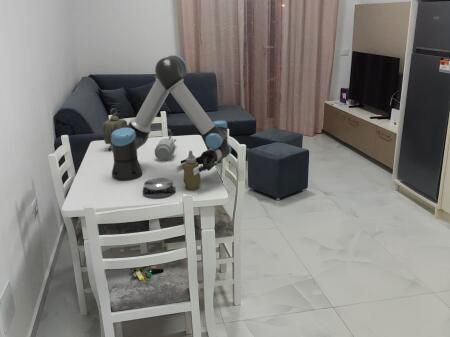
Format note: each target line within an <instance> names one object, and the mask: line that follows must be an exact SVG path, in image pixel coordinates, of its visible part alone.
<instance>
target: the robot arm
mask: <svg viewBox="0 0 450 337" xmlns="http://www.w3.org/2000/svg"><path fill="white" fill-rule="evenodd" d="M154 68H155V70H154V71H155V72H154V73H155V75H154V77H155V81H154V83H153V84H152V87H151V89H150V90H149V92H148V94H147V96H146V98H145V100H144V101H143V103H142V105H141V107H140V109H139V111H138V112H137V114H136V116H135V118H132V119H130V120H129V122H128V123H127V125H128V126H127V128H120V129H117V130H115V131H114V132H113V133H112V135H111V141H112V146H111V149H112V154H113V165H112V166H113V167H112V170H111V177H112V179H114V180H116V181H129V180H135V179H138V178H141V176H143V169H142V167H141V164H140V162H139V160H138V149H139V148H140V147H142V146H144V145H145V144H146V143H147V141H148V140H149V135H150V134H151V131H152V129H151V125H152V124H153V122H154V120H155V118H156V117H157V115H158V113H159V112H160V109H162V106H163V104H164V103H165V100H166V99H167V97H168V95H169V94H171V95H172V97H173V98H174V100H175V101H176V102H177V103H178V105H179V106H180V107H181V109H182V110H183V111H184V112H185V114H186V116H188V117H189V119H190V121H191V122H192V123H193V124H194V126H195V128H197V130H198V131H199V132H200V134H201V135H202V137H203V138H204V139H205V141H204V142H205V145H206V147H207V148H208V149H207V150H205V151H203V152H202V153H201V155H200V156H197V157H196V156H195V155H193V157H195V158H196V162H197V163H198V165H199V166H198V167H196V168H194V169H193V172H194V175H196V174H198V173H199V172H200V173H201V172H203V171H208V172H209V171H211V170H212V169H213V168H214V167H215V166H217V165H218V162H219V161H222V160H223V159H226V157H228V156H229V155H230V154H231V153H232V147H231V144H230V143H228V123H227V121H226V120H215V121H212V120H211V118H210V117H209V116H208V114H207V113H206V111H205V110H204V109H203V108H202V106H201V104H200V103H199V102H198V100H197V99H196V98H195V97H194V95H193V94H192V92H191V91H190V90H189V88H188V87H187V86H186V84H185V83H184V76H186V73H187V69H188V68H187V63H186V62H185V60H184V59H183V58H182V57H181V56H179V55H172V54H171V55H168V56H166V57H163V58H161V59H159V60H158V61H157V62H156V64H155V67H154ZM185 163H186V158H185V159H183V160H180V164H179V165H177V166H176V172H177V173H180V172H182V171H184V164H185Z"/></svg>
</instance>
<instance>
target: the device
mask: <svg viewBox="0 0 450 337" xmlns="http://www.w3.org/2000/svg"><path fill="white" fill-rule="evenodd" d="M176 141H177V138H172V135H171V134H169V137H168V138H162V139H161V140H159V142H158V143H157V144H156V147H155V148H154V155H155V157H156V158H157V160H160V161H161V162H165V161H166V162H167V161H168V160H170V159H171V158H172V157H173V155H174V153H175V150H176V144H175V142H176Z"/></svg>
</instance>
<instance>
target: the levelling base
mask: <svg viewBox="0 0 450 337" xmlns="http://www.w3.org/2000/svg"><path fill="white" fill-rule="evenodd" d="M174 194H176V187H175V186H174V181H173V180H172V179H170V178H168V177H155V178H151V179H147V180H146V181H145V182H144V184H143V188H142V195H143V197H145V198H147V199H156V200H157V199H165V198H169V197H171V196H173V195H174Z"/></svg>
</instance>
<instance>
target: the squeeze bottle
mask: <svg viewBox="0 0 450 337" xmlns="http://www.w3.org/2000/svg"><path fill="white" fill-rule="evenodd" d="M193 156H194V154H193V150H188V157H186V158H185V159H186V163H185V164H184V169H183V179H182V180H183V183H184V186H185V189H187V190H189V191H190V190H191V191H192V190H193V191H194V190H197V189H199V187H200V184H201V180H202V179H201V174H200V173H201V172H199V173H198V174H196V175H194V172H193V169H194V168H196V167H198V166H200V165H198V163H197V162H196V158H197V157H196V156H195V157H193Z"/></svg>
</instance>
